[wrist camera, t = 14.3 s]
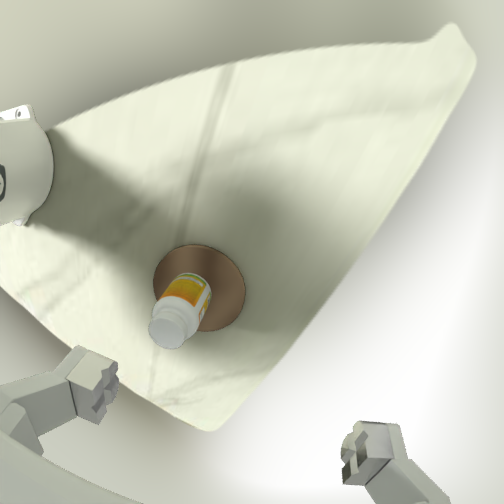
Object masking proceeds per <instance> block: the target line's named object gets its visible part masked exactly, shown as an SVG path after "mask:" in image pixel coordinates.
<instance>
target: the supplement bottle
mask: <svg viewBox="0 0 504 504" xmlns="http://www.w3.org/2000/svg"><path fill="white" fill-rule="evenodd" d="M210 300H211V289H210V286H209V284H208V283H207V282H206V281H205V280H204V279H203V278H202V277H200V276H199V275H197V274H194V273H183V274H180V275H178V276H177V277H176V278H175V279H174V280H173V281H172V282H171V284H170V285H169V287H168V288H167V289H166V291H165V292H164V293H163V295H162V296H161V297H160V299H159V300H158V301H157V303H156V304H155V306H154V308H153V311H152V321H151V322H150V324H149V334H150V336H151V338H152V339H153V341H154V342H155V343H156V344H158V345H159V346H161V347H163V348H166V349H176V348H179V347H180V346H181V345H182V344H183V343H184V341H185V339H188V338H190V337H191V336H192V335H194V333H195V332H196V331H197V329H198V327H199V325H200V322H201V320H202V318H203V316H204V314H205V312H206V310H207V307H208V305H209V303H210Z"/></svg>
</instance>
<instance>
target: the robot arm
mask: <svg viewBox="0 0 504 504" xmlns="http://www.w3.org/2000/svg"><path fill="white" fill-rule="evenodd" d="M53 169H54V165H53V154H52V149H51V145H50V142H49V140H48V137H47V135H46V134H45V132H44V130H43V129H42V128H41V127H40V125H39V124H38V123H37V121H36V118H35V114H34V111H33V108H32V106H31V105H29V104H28V105H23V106H19V107H16V108H13V109H9V110H7V111H3V112H0V226H1V225H4V224H7V223H10V222H12V223H14V224H15V225H17V226H22V225H25V224H26V222H27V220H28V218H29V216H30V214H31V213H32V212H33V211H35V210H36V209H38V208H39V207H40V206H41V205H42V204H43V203H44V201H45V200H46V198H47V196H48V194H49V191H50V188H51V185H52V180H53ZM117 370H118V363H117V362H116V361H114V360H112V359H109V358H107V357H105V356H102V355H100V354H98V353H96V352H93V351H91V350H88V349H86V348H84V347H82V346H79V345H78V346H76V347H74V348H73V349H72V351H71V352H70V353H69V354H68V355H67V356H66V357H65V358H64V360H63V361H62V362H61V363H60V364H59V365H58V367H57V368H56V369H55V370H54V371H53V372H50V371H47V372H44V373H41V374H38V375H34V376H31V377H28V378H24V379H21V380H18V381H14V382H11V383H7V384H4V385H1V386H0V504H142V503H139V502H137V501H134V500H132V499H129V498H126V497H124V496H121V495H119V494H116V493H114V492H111V491H109V490H107V489H104V488H102V487H100V486H98V485H95V484H93V483H91V482H89V481H87V480H85V479H83V478H81V477H79V476H77V475H75V474H73V473H71V472H69V471H67V470H65V469H63V468H61V467H59V466H58V465H55V464H54V463H52V462H50V461H49V460H47V459H45V458H44V457H42V454H43V452H44V451H43V448H42V446H41V444H40V442H39V440H38V436H40V435H42V434H45V433H47V432H49V431H50V430H52V429H54V428H56V427H58V426H60V425H62V424H64V423H66V422H68V421H70V420H72V419H74V418H76V417H77V416H79V417H81V418H83V419H86V420H88V421H91V422H93V423H95V424H98V425H99V423H100V422H101V420H102V418H103V417H104V415H105V414H106V412H107V411H106V405H108V404H110V403H112V402H113V400H114V399H115V397H116V394H117V391H118V386H119V378H118V377H117V376H116V374H115V373H116V372H117ZM341 459H342V461H343V462H344V463H345V466H344V467H343V468H342V479H343V484H346V485H362V486H365V488H366V490H367V491H368V493H369V494H370V496H371V497H372V499H373V500H374V502H375V503H376V504H451V503H450V499H449V497H448V496H447V495H446V494H445V493H444V492H443V491H442V490H441V489H440V488H439V487H438V486H437V485H436V484H435V483H434V482H433V481H432V480H431V479H430V478H429V477H428V476H427V475H426V474H425V473H424V472H423V471H422V470H421V469H420V468H419V467H418V466H417V465H416V464H415V462H414V461H413V460H412V459H408V457H407V453H406V449H405V445H404V441H403V437H402V433H401V429H400V426H399V425H398V424H391V423H380V422H367V421H358V422H356V423H355V425H354V426H353V432H352V433H350V434H348V435H347V436H346V438H345V439H344V441H343V444H342V447H341Z"/></svg>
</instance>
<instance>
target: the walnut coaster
mask: <svg viewBox="0 0 504 504" xmlns="http://www.w3.org/2000/svg"><path fill="white" fill-rule="evenodd" d="M183 273H194V274H197V275H199V276H200V277H202V278H203V279H204V280H205V281H206V282H207V283H208V284H209V286H210V289H211V300H210V303H209V305H208V307H207V310H206V312H205V314H204V316H203V318H202V320H201V322H200V325H199V327H198V329H197V331H204V332H208V331H215V330H219V329H222V328H224V327H226V326H228V325H229V324H231V323H232V322H233V321H234V320H235V319H236V318H237V316H238V315H239V313H240V312H241V310H242V307H243V303H244V299H245V284H244V281H243V278H242V275H241V273H240V271H239V270H238V268H237V267H236V265H235V264H234V263H233V262H232V261H231V260H230V259H229V258H228V257H227V256H226V255H224V254H223V253H221V252H220V251H218V250H216V249H213V248H211V247H207V246H203V245H186V246H182V247H179V248H176V249H174V250H173V251H171V252H170V253H168V254H167V255H166V256H165V257H164V258H163V259H162V260H161V262H160V263H159V265H158V266H157V268H156V271H155V274H154V279H153V287H154V293H155V296H156V299H157V301H158V300H159V299H160V297H161V296H162V295H163V293H164V292H165V291H166V289H167V288H168V287H169V285H170V284H171V282H172V281H173V280H174V279H175V278H176V277H177V276H178V275H180V274H183Z"/></svg>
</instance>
